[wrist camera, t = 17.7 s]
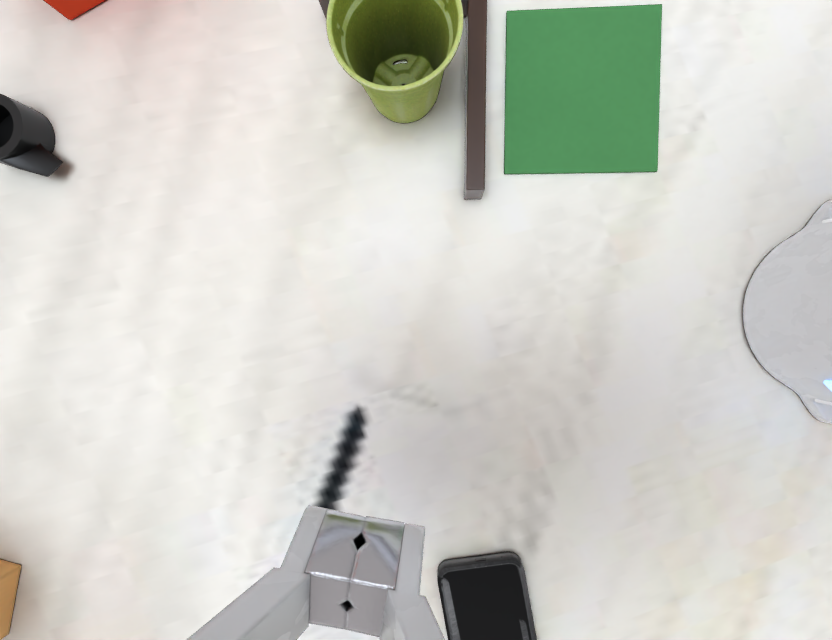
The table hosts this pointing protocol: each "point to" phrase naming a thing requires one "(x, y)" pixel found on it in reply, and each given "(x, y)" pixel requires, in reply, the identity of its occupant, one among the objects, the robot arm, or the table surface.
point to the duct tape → (26, 138)
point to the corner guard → (471, 95)
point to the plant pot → (396, 49)
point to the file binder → (73, 6)
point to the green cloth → (582, 90)
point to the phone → (486, 598)
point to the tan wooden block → (7, 593)
